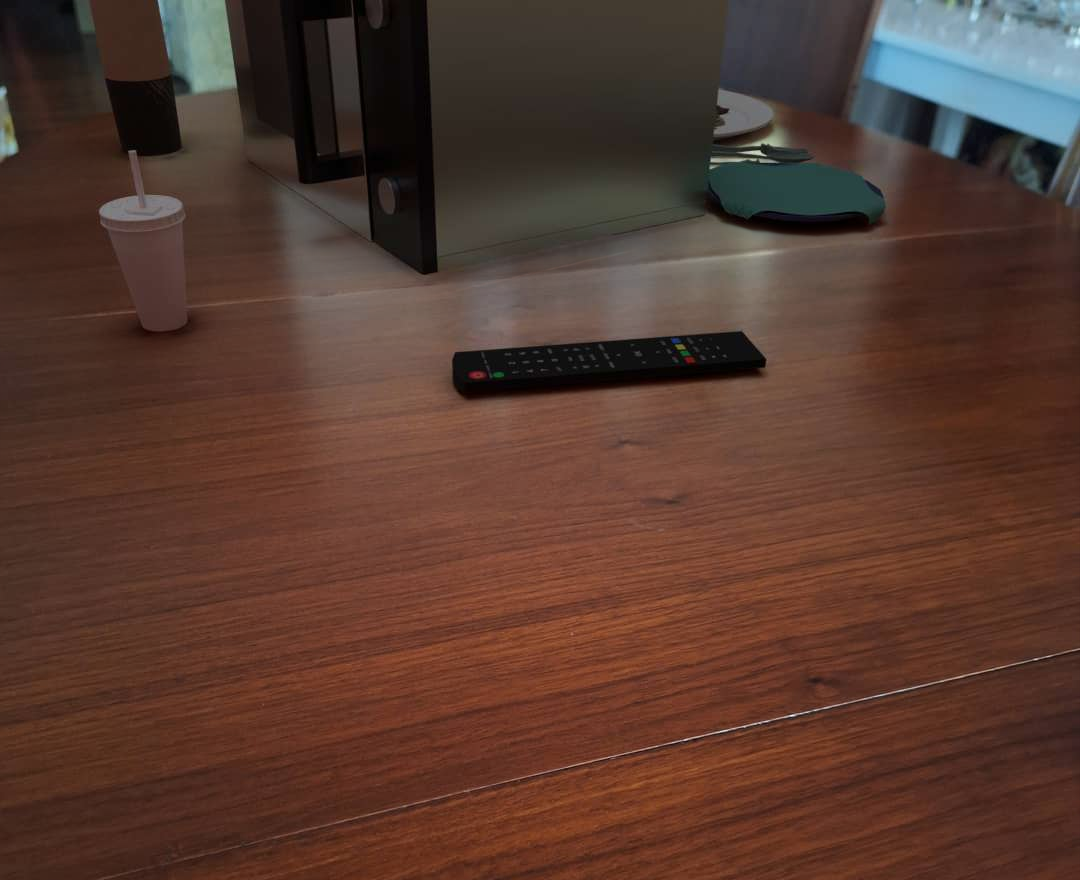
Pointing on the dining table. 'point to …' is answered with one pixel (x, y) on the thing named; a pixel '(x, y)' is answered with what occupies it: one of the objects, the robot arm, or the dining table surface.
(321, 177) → the microwave door
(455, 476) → the dining table surface
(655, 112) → the microwave
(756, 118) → the plated food
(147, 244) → the smoothie
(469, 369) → the remote control
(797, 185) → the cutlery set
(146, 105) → the travel mug
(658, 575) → the dining table surface
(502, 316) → the dining table surface
